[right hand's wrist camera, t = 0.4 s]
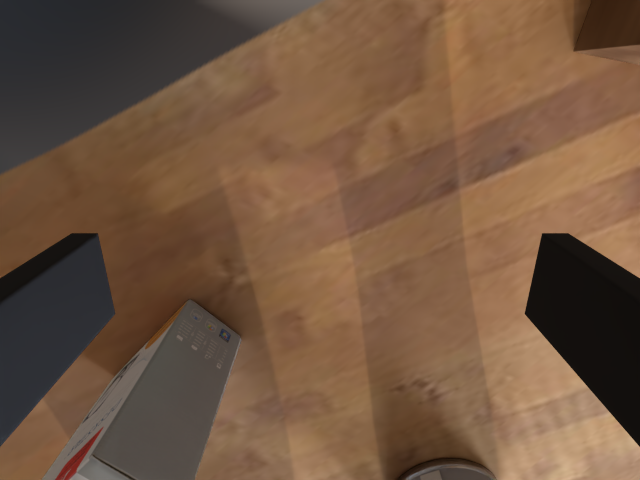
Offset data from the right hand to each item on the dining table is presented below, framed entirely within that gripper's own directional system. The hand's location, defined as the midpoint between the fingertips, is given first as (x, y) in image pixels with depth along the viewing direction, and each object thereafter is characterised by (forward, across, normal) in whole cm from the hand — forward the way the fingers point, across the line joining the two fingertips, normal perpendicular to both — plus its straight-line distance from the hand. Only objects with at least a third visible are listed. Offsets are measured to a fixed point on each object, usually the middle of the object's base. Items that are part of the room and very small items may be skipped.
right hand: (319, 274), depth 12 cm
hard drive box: (+28, +17, +24) cm, 41 cm away
